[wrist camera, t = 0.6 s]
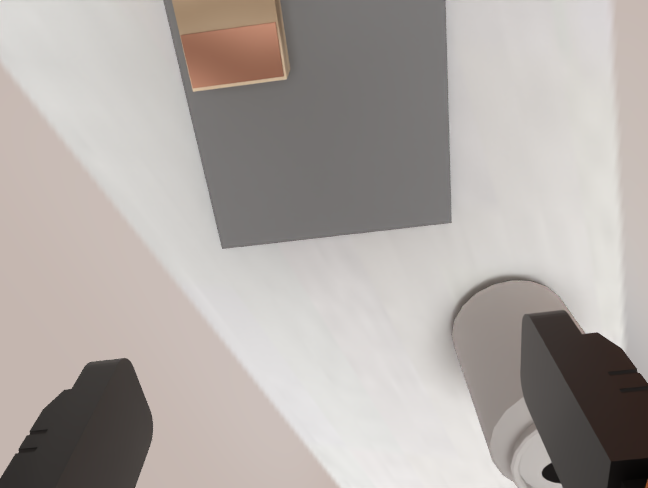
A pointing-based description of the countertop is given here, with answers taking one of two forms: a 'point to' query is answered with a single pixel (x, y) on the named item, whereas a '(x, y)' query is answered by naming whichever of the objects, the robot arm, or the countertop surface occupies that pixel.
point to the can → (505, 376)
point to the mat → (332, 126)
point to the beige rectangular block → (232, 42)
